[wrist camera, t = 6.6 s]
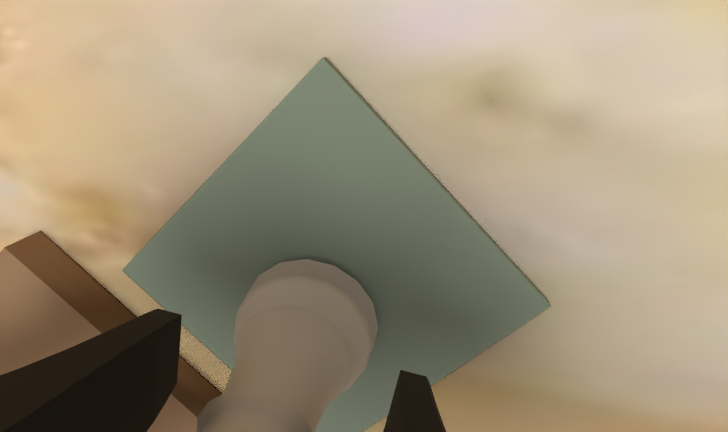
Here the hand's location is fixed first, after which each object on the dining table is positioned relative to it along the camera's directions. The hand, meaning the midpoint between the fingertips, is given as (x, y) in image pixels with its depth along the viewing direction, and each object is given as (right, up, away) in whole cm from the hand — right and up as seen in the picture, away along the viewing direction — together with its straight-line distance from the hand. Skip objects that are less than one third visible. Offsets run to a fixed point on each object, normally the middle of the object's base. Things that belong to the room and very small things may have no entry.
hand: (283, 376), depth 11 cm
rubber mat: (+1, +2, +5) cm, 5 cm away
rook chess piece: (0, +1, +5) cm, 5 cm away
